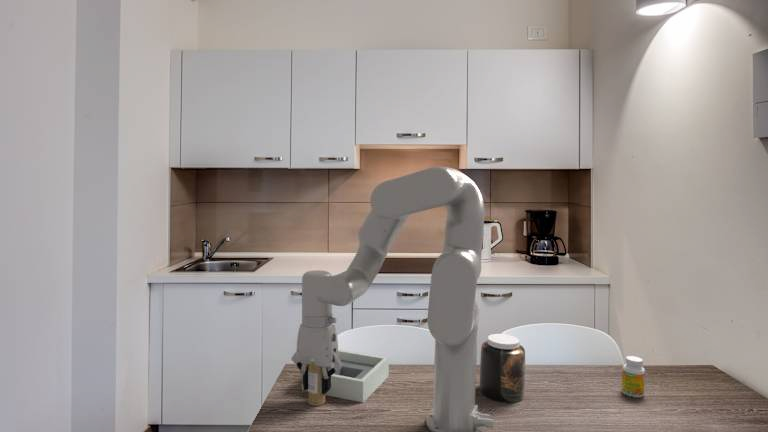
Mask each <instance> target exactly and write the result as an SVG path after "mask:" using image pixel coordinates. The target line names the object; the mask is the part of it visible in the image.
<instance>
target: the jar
mask: <svg viewBox="0 0 768 432" xmlns="http://www.w3.org/2000/svg"><path fill="white" fill-rule="evenodd" d="M479 364H480V369H479V391H480V394H481V395H482V396H483V397H485V398H486V397H487V399H488V398H489V399H488V400H491V401H495V402H497V401H498V403H503V402H507V403H508V402H514V403H518V402H520V400H521V399H522V400H523V399H524V398H523V397H525V384H526V382H525V381H526V380H525V379H526V350H525V347H524V346H522V345H521V344H520V339H519V338H517V336H513V335H510V334H505V333H493V334H489V335H487V340H486V341H484V342H483V343H482V344H481V348H480V363H479ZM522 400H521V401H522ZM517 401H518V402H517ZM507 403H506V404H507ZM508 404H509V403H508Z"/></svg>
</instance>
